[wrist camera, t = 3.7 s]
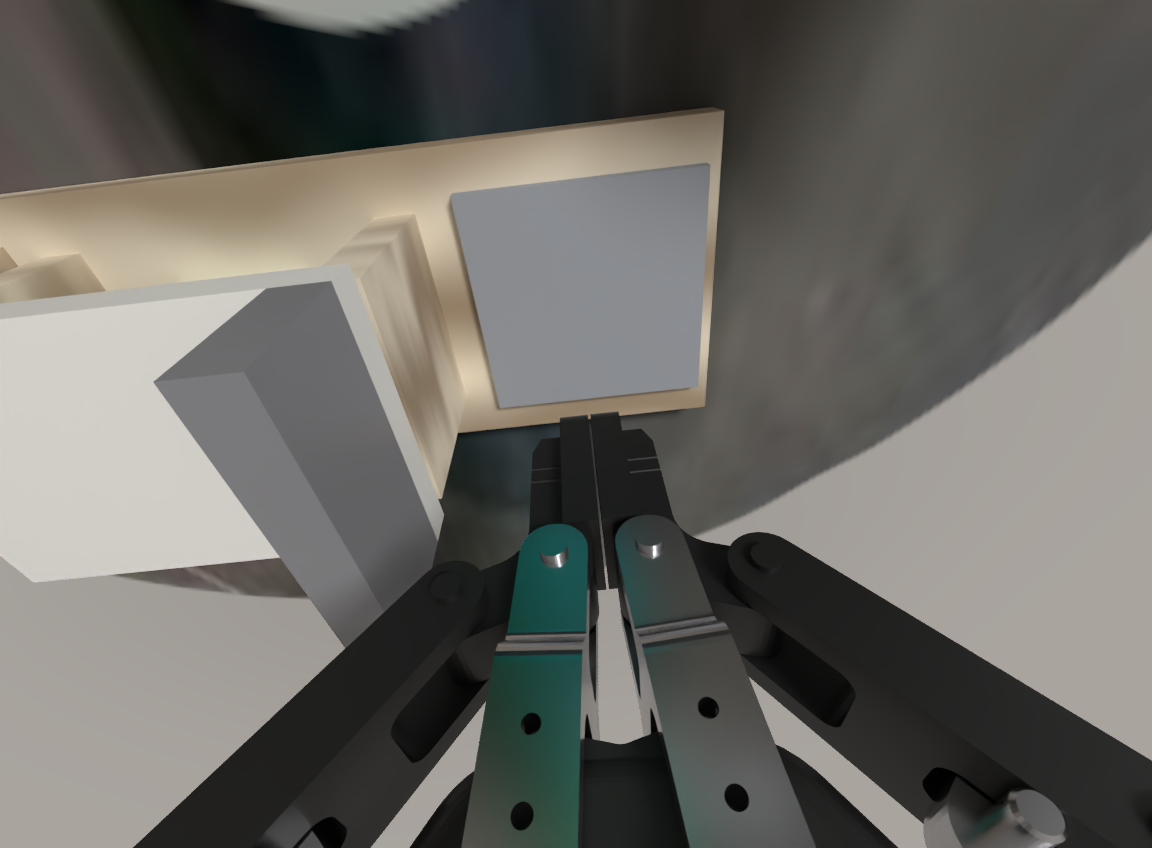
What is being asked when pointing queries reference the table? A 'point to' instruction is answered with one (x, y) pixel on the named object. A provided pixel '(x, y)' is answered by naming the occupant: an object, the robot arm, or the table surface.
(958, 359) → the table surface
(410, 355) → the puzzle board
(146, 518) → the slide cover
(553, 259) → the slate pad
